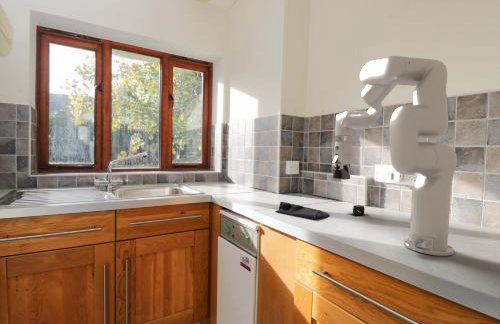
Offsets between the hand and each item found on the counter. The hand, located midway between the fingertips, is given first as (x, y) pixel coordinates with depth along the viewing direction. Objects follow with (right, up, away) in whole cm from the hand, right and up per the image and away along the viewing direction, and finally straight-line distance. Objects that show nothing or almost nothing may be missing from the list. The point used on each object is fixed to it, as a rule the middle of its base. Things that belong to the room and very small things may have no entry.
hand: (341, 177), depth 128 cm
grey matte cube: (0, 0, 0) cm, 0 cm away
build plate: (+6, -17, -6) cm, 19 cm away
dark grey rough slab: (-20, -16, -7) cm, 27 cm away
